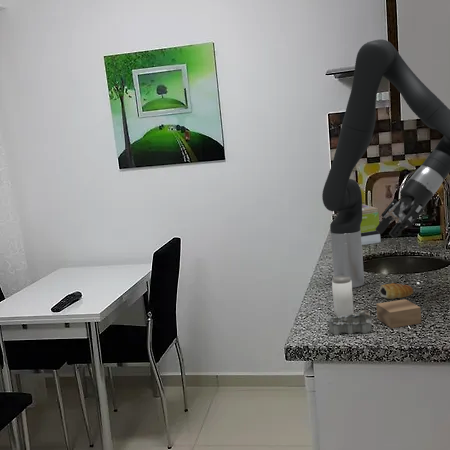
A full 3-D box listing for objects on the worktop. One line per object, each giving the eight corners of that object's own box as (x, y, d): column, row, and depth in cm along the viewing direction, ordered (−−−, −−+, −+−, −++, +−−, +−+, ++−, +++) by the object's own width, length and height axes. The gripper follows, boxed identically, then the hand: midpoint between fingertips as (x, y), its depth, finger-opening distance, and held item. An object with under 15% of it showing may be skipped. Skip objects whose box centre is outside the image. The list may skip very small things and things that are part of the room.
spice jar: (331, 312, 161) (328, 276, 159) (349, 309, 162) (347, 274, 160) (338, 317, 156) (335, 281, 154) (356, 314, 156) (354, 278, 155)
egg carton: (372, 324, 149) (371, 309, 148) (372, 335, 142) (371, 319, 141) (329, 325, 151) (328, 310, 151) (327, 335, 144) (326, 319, 144)
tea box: (344, 240, 256) (342, 206, 253) (366, 237, 257) (364, 203, 255) (358, 245, 241) (356, 210, 239) (381, 242, 243) (379, 207, 240)
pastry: (406, 290, 174) (405, 278, 173) (418, 296, 167) (417, 283, 167) (377, 295, 172) (376, 283, 172) (388, 301, 166) (387, 288, 165)
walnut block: (377, 318, 152) (376, 303, 151) (406, 313, 153) (405, 299, 152) (391, 328, 144) (390, 312, 143) (421, 323, 145) (420, 307, 145)
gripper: (399, 176, 164) (364, 222, 164) (425, 179, 150) (386, 229, 150) (418, 193, 165) (383, 238, 165) (445, 197, 151) (407, 246, 151)
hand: (384, 234), depth 157 cm, fingers open, 8 cm apart
